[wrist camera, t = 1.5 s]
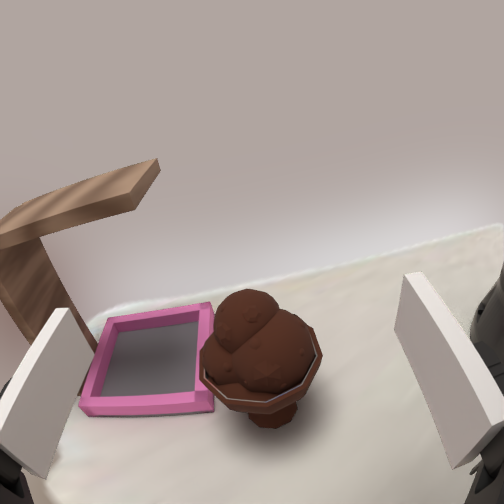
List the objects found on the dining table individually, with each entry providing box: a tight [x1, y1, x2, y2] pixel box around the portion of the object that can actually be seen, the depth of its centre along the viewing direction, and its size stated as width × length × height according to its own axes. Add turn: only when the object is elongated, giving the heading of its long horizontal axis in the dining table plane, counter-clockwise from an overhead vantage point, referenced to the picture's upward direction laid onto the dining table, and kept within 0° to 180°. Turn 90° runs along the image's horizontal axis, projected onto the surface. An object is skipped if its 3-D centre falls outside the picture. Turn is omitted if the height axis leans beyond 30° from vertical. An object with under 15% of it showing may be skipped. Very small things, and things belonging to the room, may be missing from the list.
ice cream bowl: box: [199, 289, 323, 429], centre depth 28 cm, size 11×11×15 cm
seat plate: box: [78, 302, 214, 417], centre depth 39 cm, size 17×17×2 cm
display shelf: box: [0, 158, 161, 396], centre depth 34 cm, size 20×11×24 cm, turn 94°
